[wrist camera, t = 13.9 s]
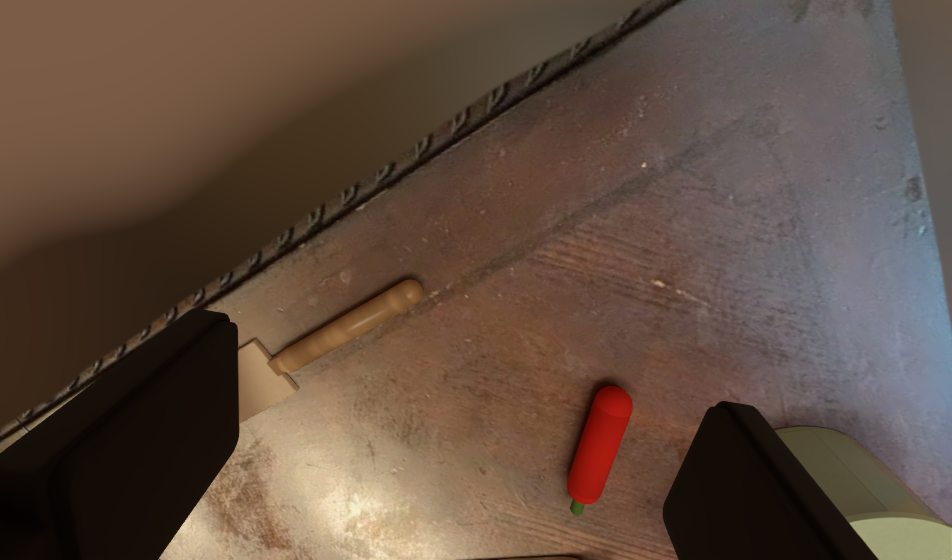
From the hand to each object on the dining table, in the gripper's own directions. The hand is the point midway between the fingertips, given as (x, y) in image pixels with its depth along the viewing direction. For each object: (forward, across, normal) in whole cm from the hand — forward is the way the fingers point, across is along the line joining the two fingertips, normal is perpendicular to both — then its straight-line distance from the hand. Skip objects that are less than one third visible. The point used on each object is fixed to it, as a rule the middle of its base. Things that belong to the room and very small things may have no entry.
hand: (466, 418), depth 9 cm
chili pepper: (+21, -11, +18) cm, 30 cm away
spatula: (+23, +11, +15) cm, 30 cm away
